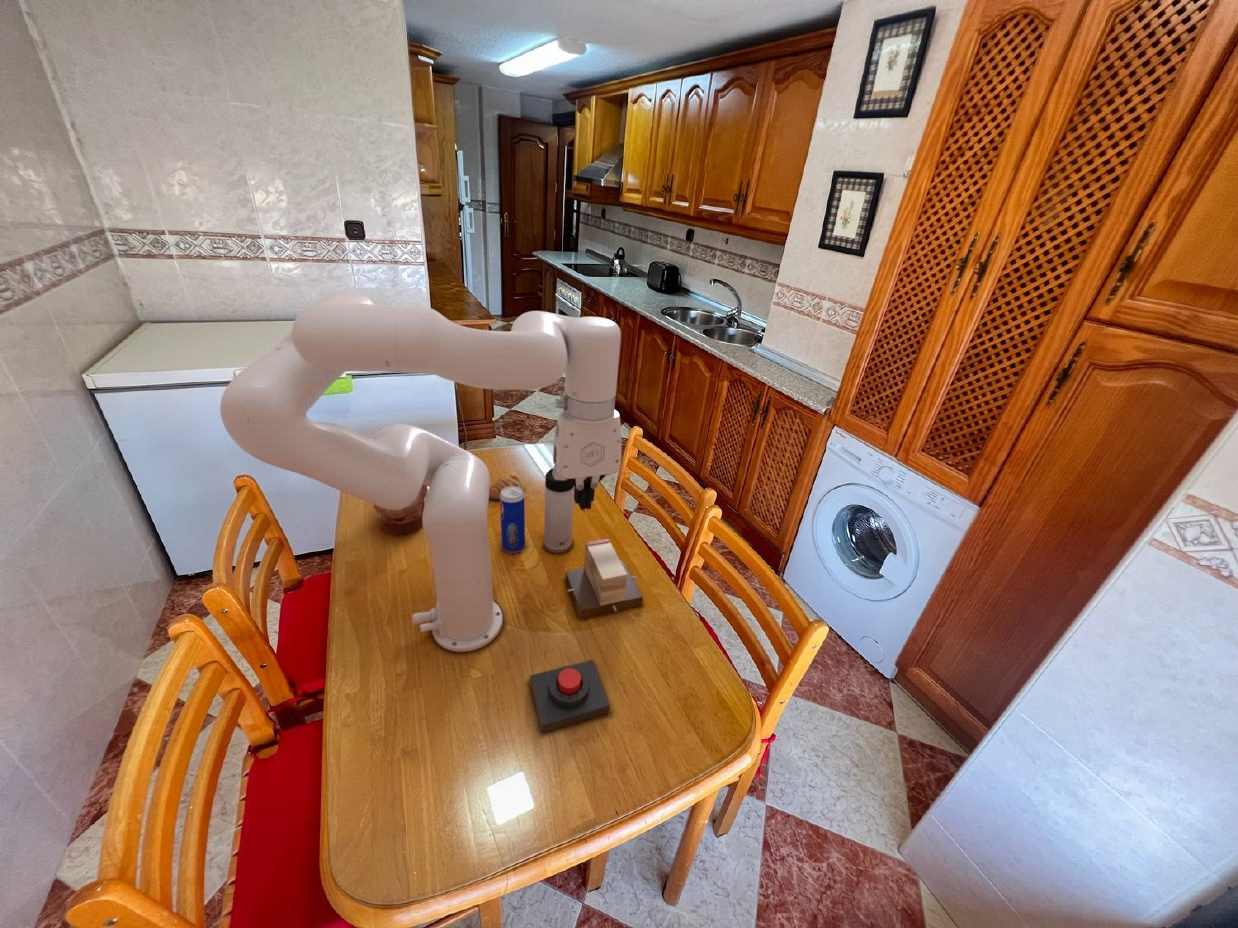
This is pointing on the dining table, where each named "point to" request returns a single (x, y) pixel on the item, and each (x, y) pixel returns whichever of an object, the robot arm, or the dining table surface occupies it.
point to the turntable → (587, 599)
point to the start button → (569, 681)
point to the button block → (568, 697)
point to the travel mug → (558, 514)
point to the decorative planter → (404, 515)
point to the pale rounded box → (605, 571)
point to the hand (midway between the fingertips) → (583, 504)
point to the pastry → (504, 485)
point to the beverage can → (512, 519)
